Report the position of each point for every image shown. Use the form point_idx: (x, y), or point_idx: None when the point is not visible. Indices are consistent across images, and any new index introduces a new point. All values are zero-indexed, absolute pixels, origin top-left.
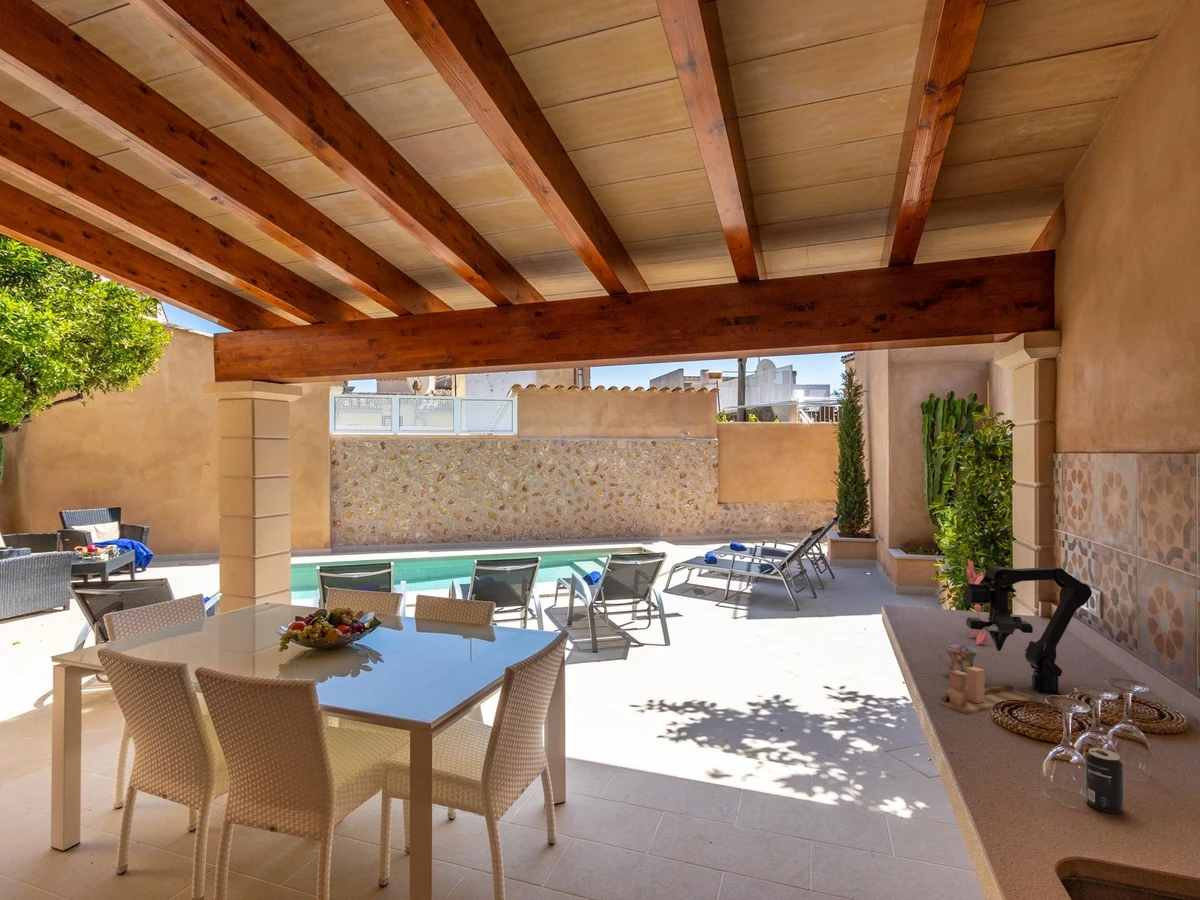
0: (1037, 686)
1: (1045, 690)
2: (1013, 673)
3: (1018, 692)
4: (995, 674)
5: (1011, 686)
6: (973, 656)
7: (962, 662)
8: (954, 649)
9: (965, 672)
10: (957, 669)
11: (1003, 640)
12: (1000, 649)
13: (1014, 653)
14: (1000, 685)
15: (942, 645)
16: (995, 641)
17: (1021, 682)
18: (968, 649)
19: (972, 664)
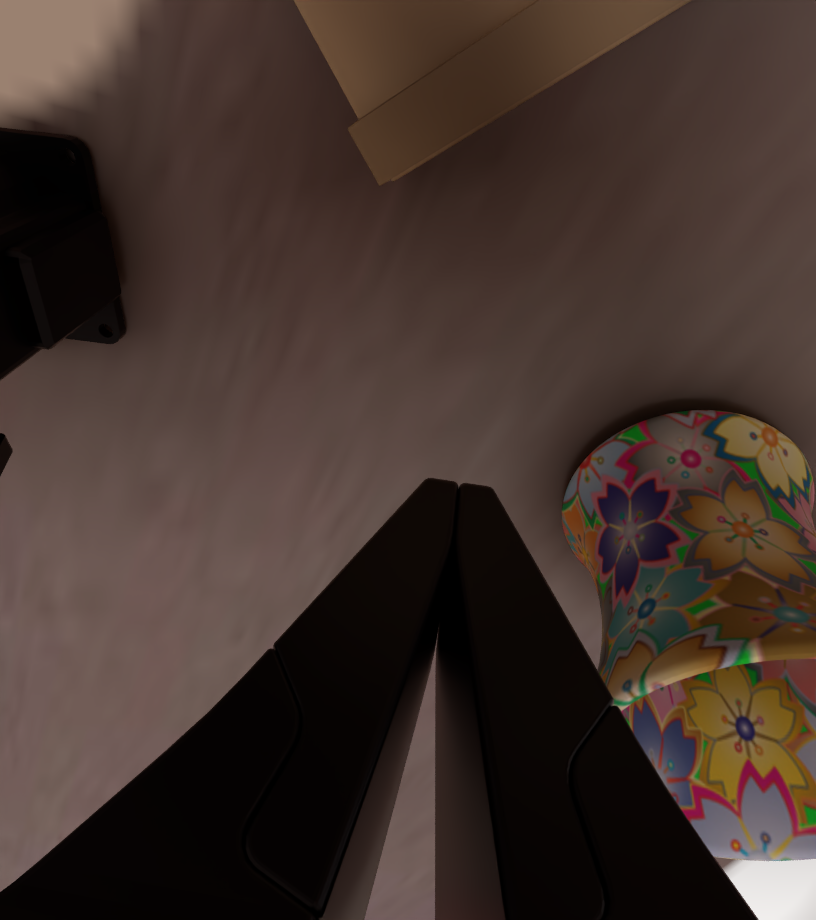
0: (66, 211)
1: (8, 157)
2: (189, 603)
3: (337, 2)
4: (326, 585)
5: (382, 106)
6: (687, 619)
7: (812, 564)
8: (763, 796)
9: (739, 474)
10: (811, 521)
11: (286, 707)
12: (426, 493)
13: None
14: (537, 84)
15: (425, 908)
16: (613, 706)
17: (183, 438)
18: None
19: (648, 557)
